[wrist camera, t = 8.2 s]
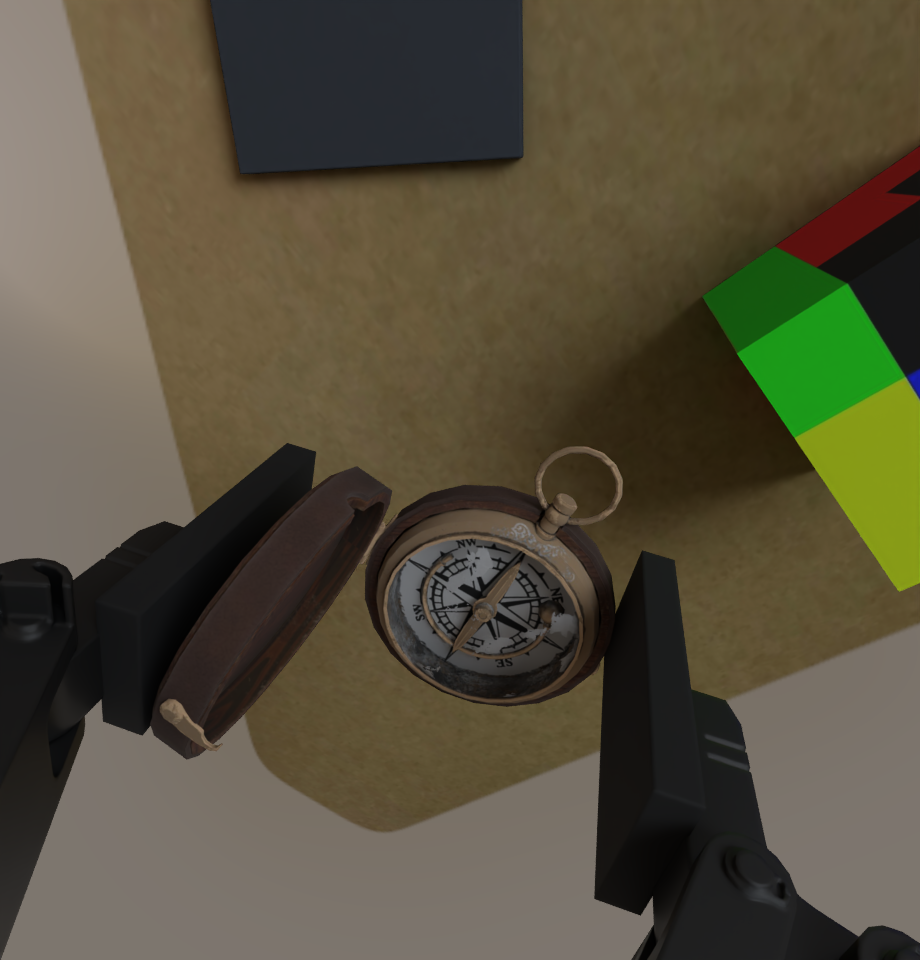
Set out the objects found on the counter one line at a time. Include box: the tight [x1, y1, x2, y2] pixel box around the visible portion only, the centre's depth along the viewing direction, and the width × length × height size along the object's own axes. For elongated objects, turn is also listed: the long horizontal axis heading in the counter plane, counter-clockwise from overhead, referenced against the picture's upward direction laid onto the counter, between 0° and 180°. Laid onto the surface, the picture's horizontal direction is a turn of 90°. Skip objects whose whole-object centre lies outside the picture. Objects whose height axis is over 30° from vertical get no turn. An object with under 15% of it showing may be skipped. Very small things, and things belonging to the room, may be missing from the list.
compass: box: [150, 447, 623, 759], centre depth 13 cm, size 8×8×7 cm
